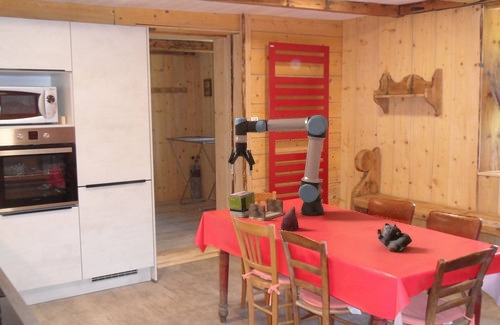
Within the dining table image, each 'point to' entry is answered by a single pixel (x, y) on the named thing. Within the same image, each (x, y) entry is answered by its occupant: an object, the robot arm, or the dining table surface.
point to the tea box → (241, 203)
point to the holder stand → (272, 210)
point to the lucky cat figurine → (393, 238)
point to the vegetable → (290, 221)
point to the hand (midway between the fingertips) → (241, 174)
